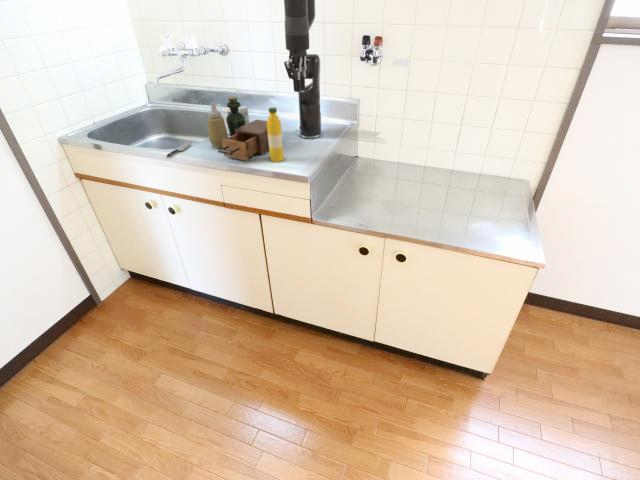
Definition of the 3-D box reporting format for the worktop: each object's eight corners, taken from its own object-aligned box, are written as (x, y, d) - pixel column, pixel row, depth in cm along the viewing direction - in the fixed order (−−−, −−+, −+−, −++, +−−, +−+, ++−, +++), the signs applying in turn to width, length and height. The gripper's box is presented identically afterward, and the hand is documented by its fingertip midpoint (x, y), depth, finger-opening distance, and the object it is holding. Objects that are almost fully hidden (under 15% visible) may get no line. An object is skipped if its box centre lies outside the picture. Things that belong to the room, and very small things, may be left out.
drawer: (237, 165, 140) (234, 148, 136) (214, 160, 144) (211, 143, 140) (266, 149, 153) (265, 132, 149) (245, 144, 158) (243, 128, 154)
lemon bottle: (275, 155, 150) (270, 105, 138) (286, 158, 148) (282, 107, 136) (267, 160, 146) (262, 109, 135) (278, 163, 144) (274, 111, 133)
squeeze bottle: (206, 146, 159) (198, 103, 149) (222, 141, 164) (215, 99, 154) (217, 151, 155) (209, 106, 145) (233, 145, 160) (226, 102, 149)
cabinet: (261, 155, 150) (259, 134, 145) (237, 150, 155) (234, 129, 150) (281, 143, 161) (280, 123, 156) (258, 139, 166) (256, 119, 161)
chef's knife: (196, 142, 165) (190, 141, 165) (196, 139, 164) (190, 138, 164) (173, 158, 149) (166, 157, 150) (172, 155, 149) (165, 154, 149)
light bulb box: (243, 126, 180) (240, 103, 174) (251, 130, 176) (248, 106, 170) (223, 131, 175) (220, 108, 169) (230, 135, 171) (227, 111, 164)
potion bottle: (251, 138, 167) (246, 96, 157) (239, 144, 161) (233, 101, 151) (237, 135, 170) (231, 94, 160) (225, 140, 165) (218, 98, 154)
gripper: (295, 35, 110) (298, 96, 120) (318, 30, 120) (319, 87, 130) (274, 34, 113) (278, 94, 123) (298, 29, 123) (300, 85, 133)
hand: (299, 90), depth 126 cm, fingers closed
